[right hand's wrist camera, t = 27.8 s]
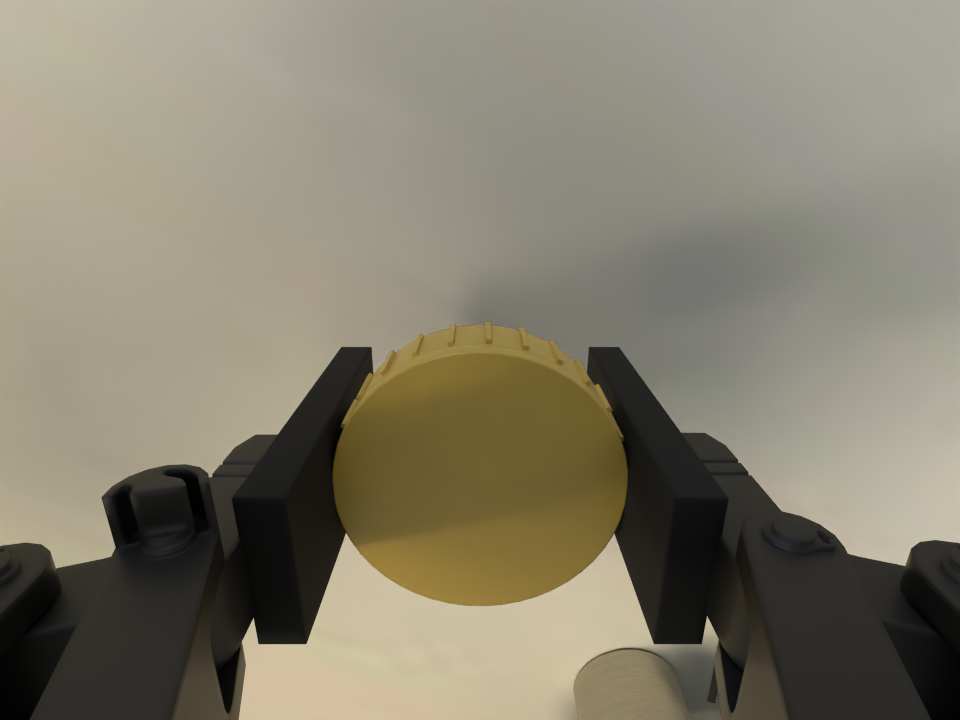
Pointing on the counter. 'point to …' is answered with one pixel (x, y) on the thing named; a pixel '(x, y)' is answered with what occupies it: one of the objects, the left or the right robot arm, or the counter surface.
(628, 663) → the bottle
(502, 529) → the lid
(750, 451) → the counter surface
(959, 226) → the counter surface
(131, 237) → the counter surface
